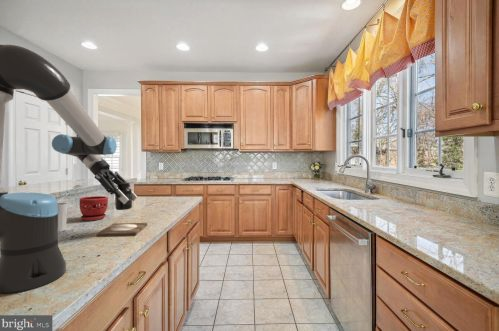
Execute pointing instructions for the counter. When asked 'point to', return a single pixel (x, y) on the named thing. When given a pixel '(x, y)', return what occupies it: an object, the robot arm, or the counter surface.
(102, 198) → the plant pot
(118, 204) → the supplement bottle
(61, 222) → the cup
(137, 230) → the walnut board
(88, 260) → the counter surface
